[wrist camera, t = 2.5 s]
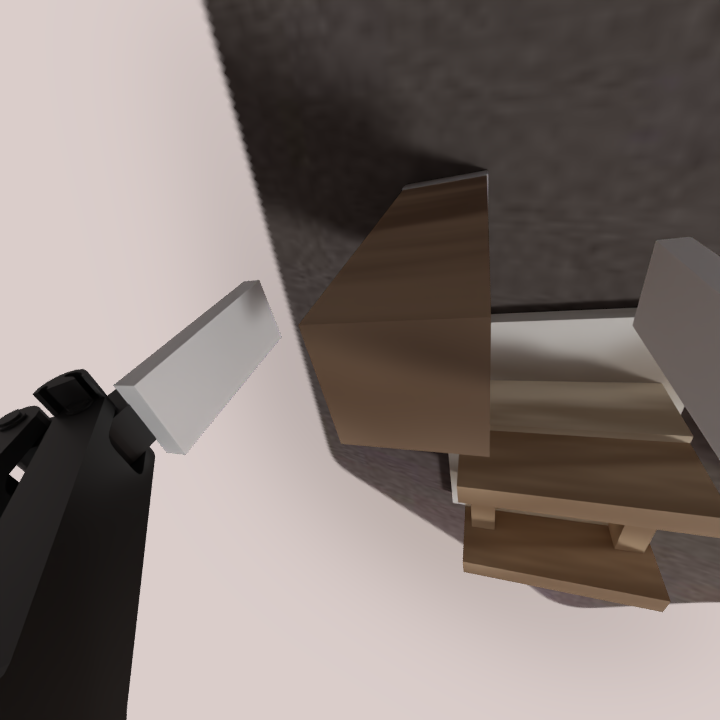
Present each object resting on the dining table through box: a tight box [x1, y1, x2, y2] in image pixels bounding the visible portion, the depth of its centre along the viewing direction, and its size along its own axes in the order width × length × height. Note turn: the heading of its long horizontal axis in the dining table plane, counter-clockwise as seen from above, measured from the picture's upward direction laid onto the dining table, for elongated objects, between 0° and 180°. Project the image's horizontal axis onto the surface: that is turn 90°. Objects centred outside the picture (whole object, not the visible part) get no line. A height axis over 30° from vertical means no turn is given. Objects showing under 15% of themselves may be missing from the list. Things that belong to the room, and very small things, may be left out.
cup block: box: [448, 308, 720, 612], centre depth 22 cm, size 20×14×9 cm
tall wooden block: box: [298, 170, 491, 457], centre depth 13 cm, size 4×4×14 cm
